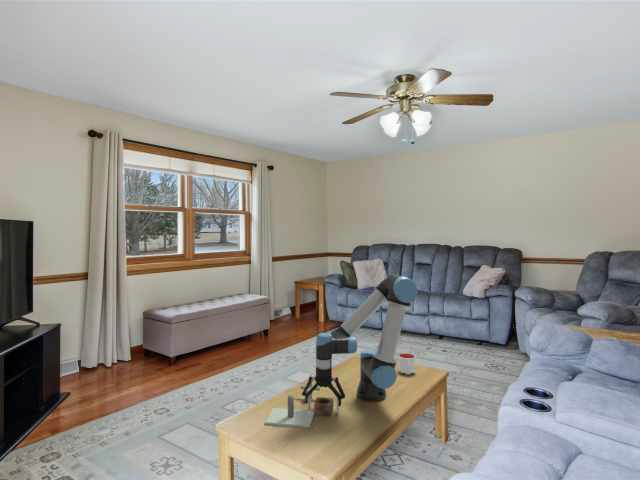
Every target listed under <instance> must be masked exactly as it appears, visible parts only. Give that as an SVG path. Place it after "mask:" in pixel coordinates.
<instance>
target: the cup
mask: <svg viewBox="0 0 640 480" xmlns="http://www.w3.org/2000/svg"><path fill="white" fill-rule="evenodd" d="M397 357H398V358H397V363H398V364H397V370H398V372H399V373H400V372H401V373H400V374H402V373H405V374H404V375H412V374H411V373H413V374H414V373H415V371H416V355H414V354H412V353H404V352H403V353H399V354H398V355H397Z"/></svg>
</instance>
